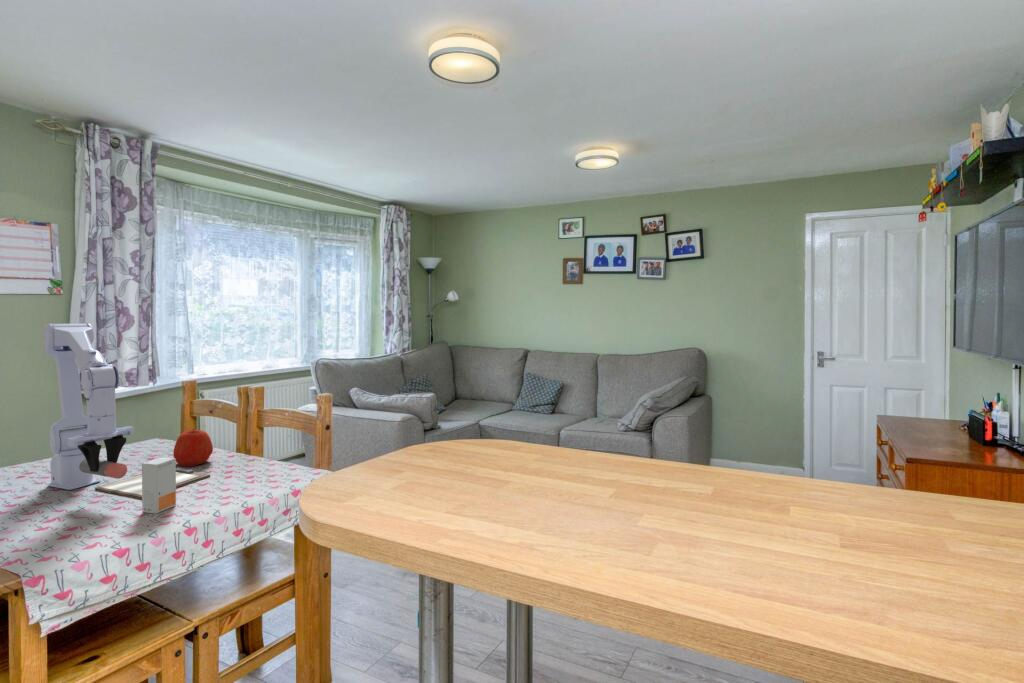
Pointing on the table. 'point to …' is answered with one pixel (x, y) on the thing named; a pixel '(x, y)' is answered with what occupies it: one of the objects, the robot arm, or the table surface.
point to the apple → (192, 448)
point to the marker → (105, 469)
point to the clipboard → (134, 484)
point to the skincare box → (158, 485)
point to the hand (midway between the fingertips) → (103, 468)
